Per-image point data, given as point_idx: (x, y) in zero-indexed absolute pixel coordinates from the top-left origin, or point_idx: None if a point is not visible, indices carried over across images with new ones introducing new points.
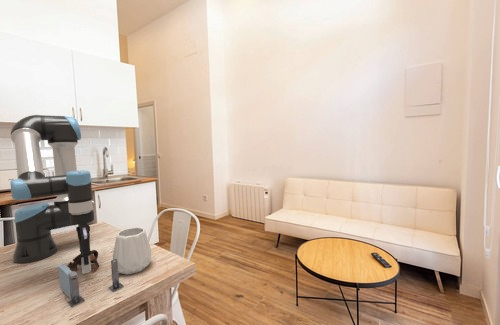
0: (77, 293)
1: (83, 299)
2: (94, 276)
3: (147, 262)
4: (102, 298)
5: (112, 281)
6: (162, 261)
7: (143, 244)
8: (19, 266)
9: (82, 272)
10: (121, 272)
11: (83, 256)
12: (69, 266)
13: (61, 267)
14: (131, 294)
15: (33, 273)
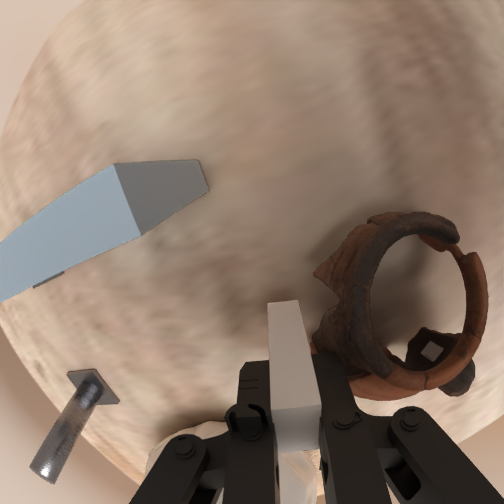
0: None
1: (36, 284)
2: (249, 340)
3: None
4: (41, 337)
5: (72, 399)
6: None
7: None
8: None
9: (280, 304)
10: (177, 432)
11: (170, 449)
12: (376, 233)
13: (47, 222)
14: (50, 397)
15: (493, 52)
